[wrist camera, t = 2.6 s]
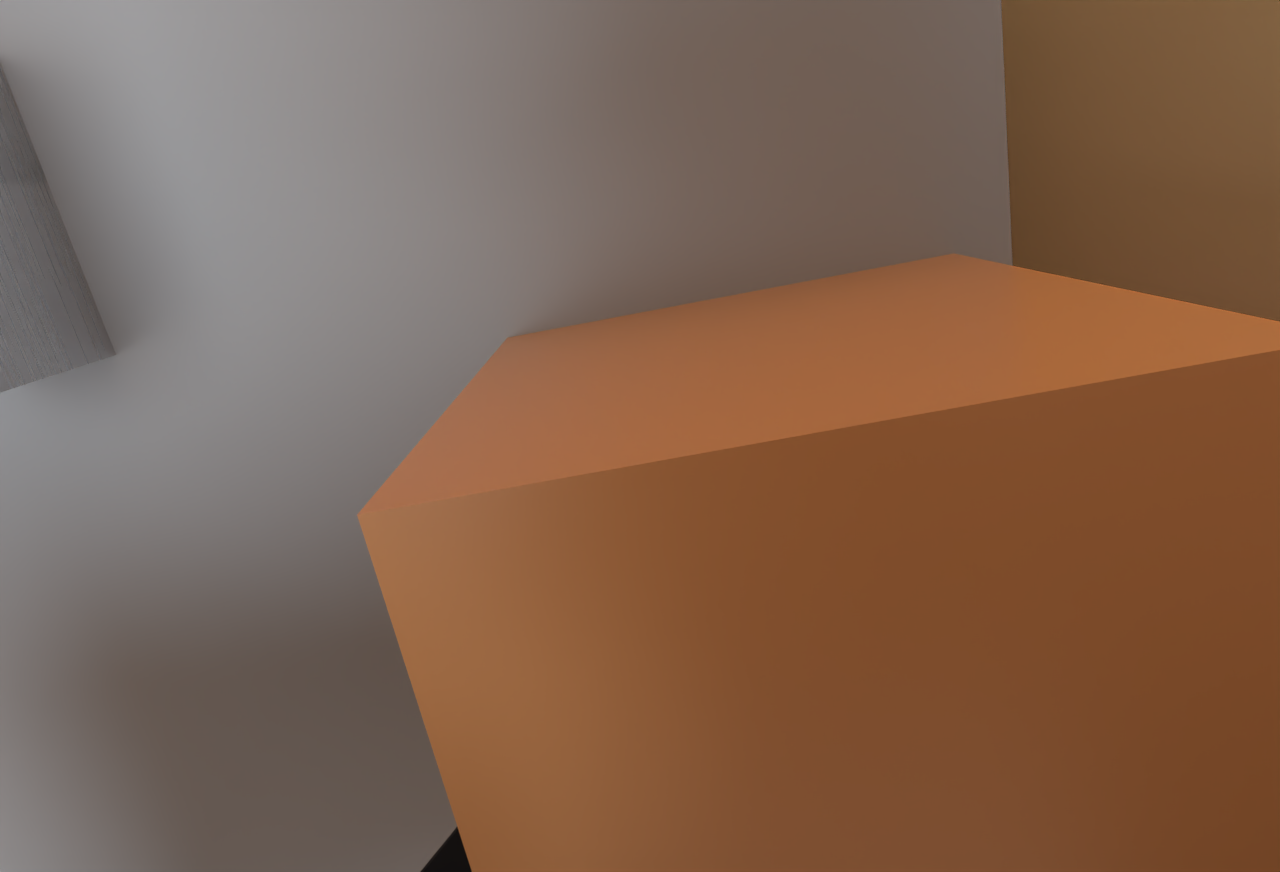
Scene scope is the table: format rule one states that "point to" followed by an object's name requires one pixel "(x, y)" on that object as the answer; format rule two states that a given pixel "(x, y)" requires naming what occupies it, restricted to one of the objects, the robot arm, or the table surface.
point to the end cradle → (38, 269)
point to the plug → (855, 583)
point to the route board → (380, 345)
